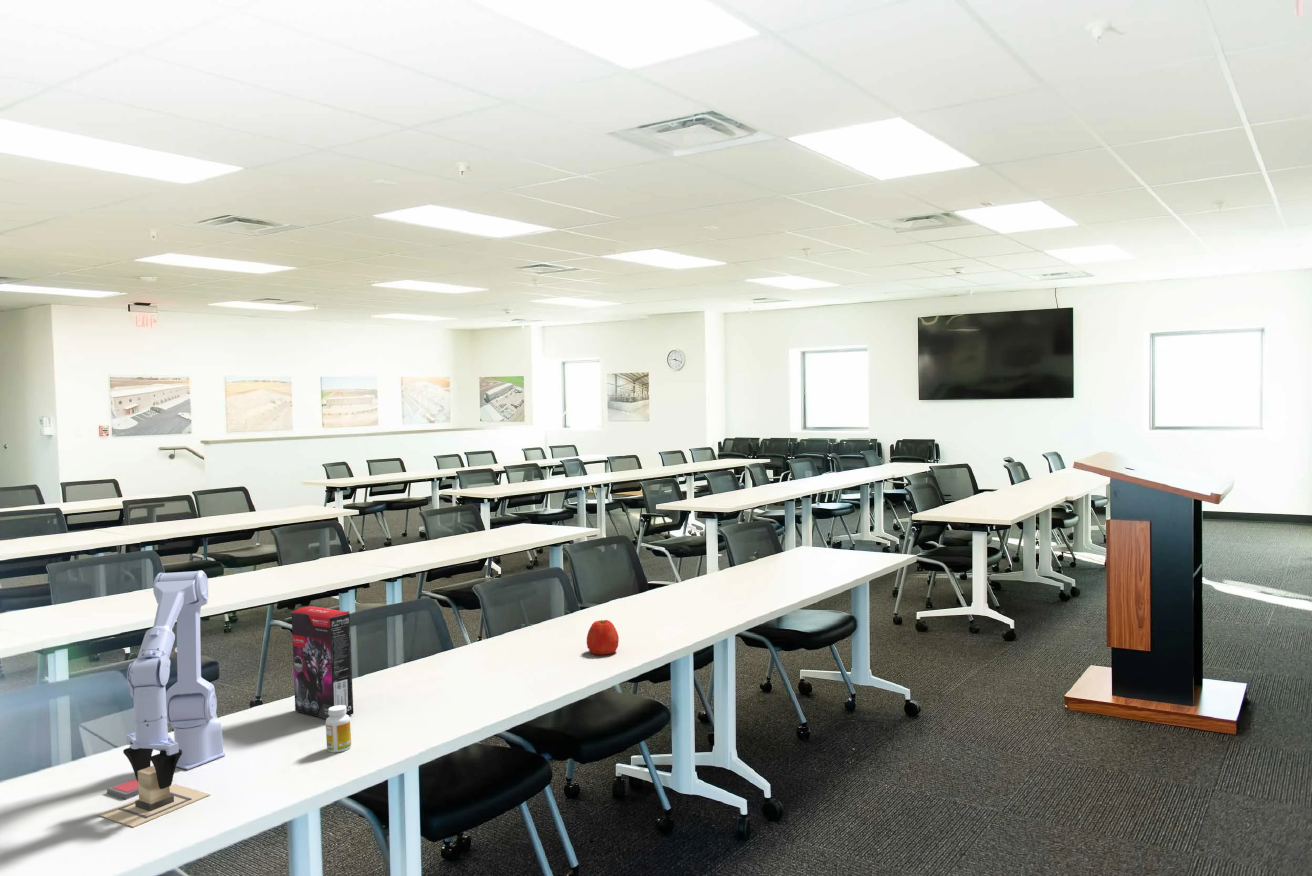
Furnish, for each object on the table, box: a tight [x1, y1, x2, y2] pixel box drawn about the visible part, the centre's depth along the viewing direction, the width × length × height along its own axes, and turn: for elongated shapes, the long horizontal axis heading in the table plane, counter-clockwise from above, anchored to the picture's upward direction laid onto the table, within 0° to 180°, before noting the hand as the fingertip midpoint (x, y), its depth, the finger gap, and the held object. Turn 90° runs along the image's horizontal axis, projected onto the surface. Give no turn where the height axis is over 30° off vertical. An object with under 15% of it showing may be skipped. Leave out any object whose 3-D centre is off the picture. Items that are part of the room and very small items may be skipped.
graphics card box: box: [291, 605, 354, 720], centre depth 236 cm, size 17×7×27 cm, turn 56°
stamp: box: [135, 764, 174, 811], centre depth 183 cm, size 5×5×7 cm
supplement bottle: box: [325, 705, 352, 753], centre depth 211 cm, size 5×5×10 cm
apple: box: [586, 619, 620, 656], centre depth 287 cm, size 10×10×10 cm
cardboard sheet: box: [97, 783, 211, 828], centre depth 183 cm, size 16×12×1 cm
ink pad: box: [106, 777, 174, 800], centre depth 192 cm, size 10×7×1 cm
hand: (154, 783), depth 183 cm, fingers open, 7 cm apart
